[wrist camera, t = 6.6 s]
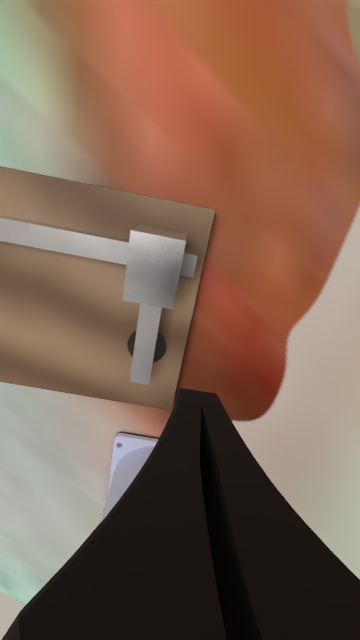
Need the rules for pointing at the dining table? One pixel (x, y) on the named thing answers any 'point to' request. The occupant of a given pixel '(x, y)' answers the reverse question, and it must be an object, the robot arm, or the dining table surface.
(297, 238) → the dining table surface
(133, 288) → the trammel
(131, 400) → the slide rail board
